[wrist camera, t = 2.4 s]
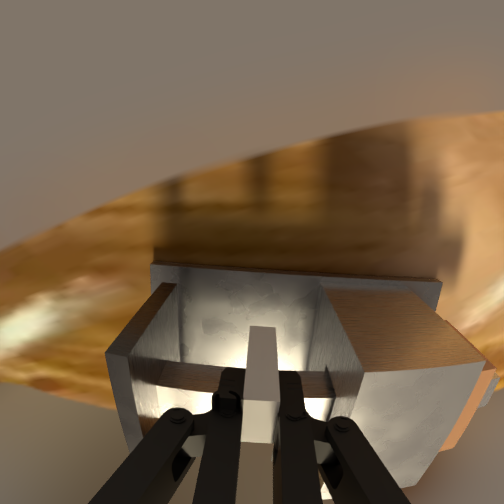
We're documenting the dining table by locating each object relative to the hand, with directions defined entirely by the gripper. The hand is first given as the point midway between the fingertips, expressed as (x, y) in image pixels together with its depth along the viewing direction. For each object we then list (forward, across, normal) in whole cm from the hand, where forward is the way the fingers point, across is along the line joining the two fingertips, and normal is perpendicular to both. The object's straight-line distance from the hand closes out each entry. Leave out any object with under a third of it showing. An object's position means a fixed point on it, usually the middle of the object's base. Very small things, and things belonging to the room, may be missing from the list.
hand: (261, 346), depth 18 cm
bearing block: (+9, +4, -4) cm, 10 cm away
